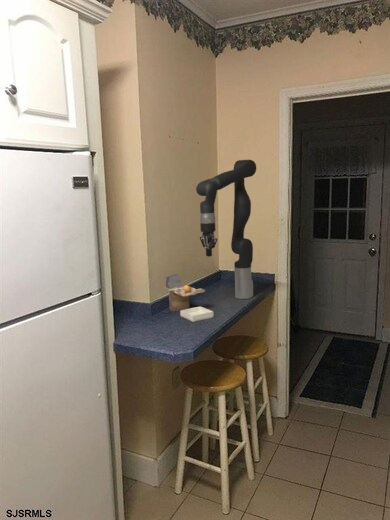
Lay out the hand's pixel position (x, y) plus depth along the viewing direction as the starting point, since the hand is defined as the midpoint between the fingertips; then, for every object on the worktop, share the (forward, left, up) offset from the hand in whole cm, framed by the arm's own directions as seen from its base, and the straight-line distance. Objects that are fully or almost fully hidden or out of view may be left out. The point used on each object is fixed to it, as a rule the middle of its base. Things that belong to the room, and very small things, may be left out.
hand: (208, 256), depth 218 cm
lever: (+11, -7, -18) cm, 22 cm away
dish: (+14, +9, -27) cm, 32 cm away
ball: (+14, 0, -17) cm, 22 cm away
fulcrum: (+14, -8, -27) cm, 31 cm away
